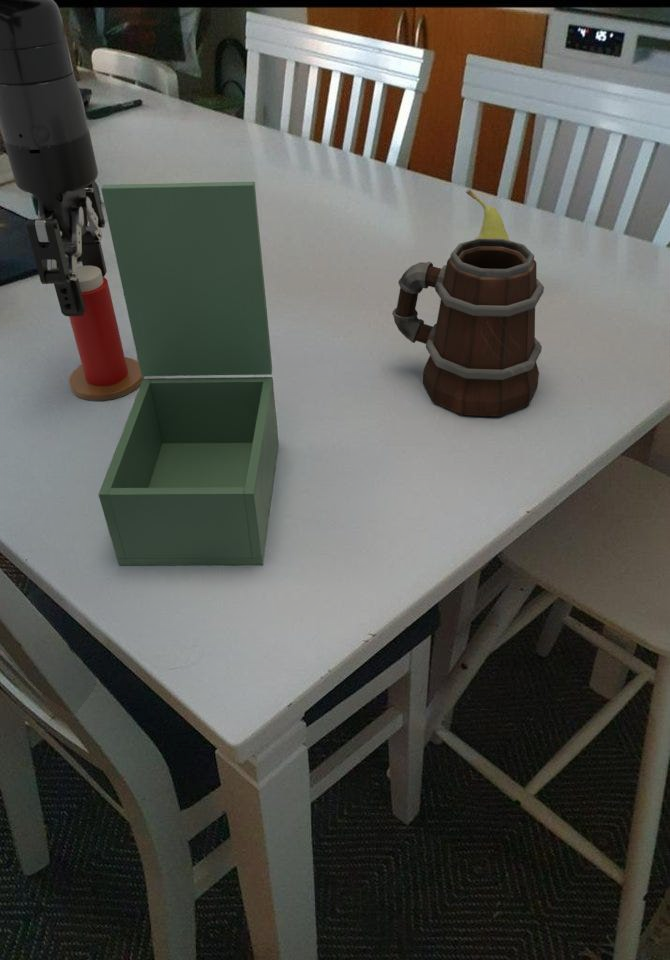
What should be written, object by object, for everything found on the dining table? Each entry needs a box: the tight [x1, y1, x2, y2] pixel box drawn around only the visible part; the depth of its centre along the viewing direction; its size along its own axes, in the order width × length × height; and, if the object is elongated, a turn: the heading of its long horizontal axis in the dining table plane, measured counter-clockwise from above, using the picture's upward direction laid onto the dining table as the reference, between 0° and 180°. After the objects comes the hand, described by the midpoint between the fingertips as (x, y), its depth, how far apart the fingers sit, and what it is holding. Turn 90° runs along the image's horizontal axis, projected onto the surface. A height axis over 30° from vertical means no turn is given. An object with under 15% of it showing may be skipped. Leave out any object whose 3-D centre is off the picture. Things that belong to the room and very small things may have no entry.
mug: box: [392, 238, 545, 417], centre depth 82 cm, size 16×12×15 cm
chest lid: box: [100, 181, 273, 377], centre depth 71 cm, size 17×12×5 cm
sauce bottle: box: [68, 265, 128, 386], centre depth 85 cm, size 5×5×12 cm
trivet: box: [68, 356, 145, 402], centre depth 89 cm, size 8×8×1 cm
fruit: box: [465, 188, 511, 241], centre depth 101 cm, size 7×8×12 cm
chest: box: [97, 376, 280, 566], centre depth 71 cm, size 17×12×8 cm
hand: (86, 294), depth 83 cm, fingers open, 8 cm apart
